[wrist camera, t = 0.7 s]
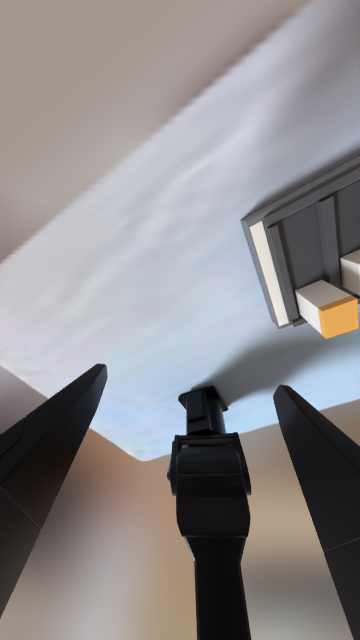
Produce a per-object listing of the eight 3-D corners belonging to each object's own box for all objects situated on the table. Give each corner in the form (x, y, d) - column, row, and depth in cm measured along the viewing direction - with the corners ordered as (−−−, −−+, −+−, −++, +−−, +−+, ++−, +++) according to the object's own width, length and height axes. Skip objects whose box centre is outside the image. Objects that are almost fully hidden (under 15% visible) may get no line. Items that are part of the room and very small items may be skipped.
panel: (389, 275, 19) (419, 284, 16) (271, 320, 22) (282, 333, 20) (398, 133, 13) (443, 117, 11) (240, 220, 17) (249, 222, 14)
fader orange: (325, 305, 18) (358, 328, 15) (300, 314, 19) (326, 339, 16) (321, 279, 17) (357, 298, 14) (294, 290, 18) (322, 311, 14)
